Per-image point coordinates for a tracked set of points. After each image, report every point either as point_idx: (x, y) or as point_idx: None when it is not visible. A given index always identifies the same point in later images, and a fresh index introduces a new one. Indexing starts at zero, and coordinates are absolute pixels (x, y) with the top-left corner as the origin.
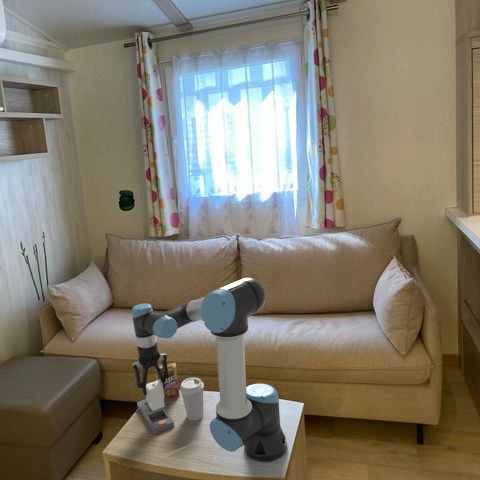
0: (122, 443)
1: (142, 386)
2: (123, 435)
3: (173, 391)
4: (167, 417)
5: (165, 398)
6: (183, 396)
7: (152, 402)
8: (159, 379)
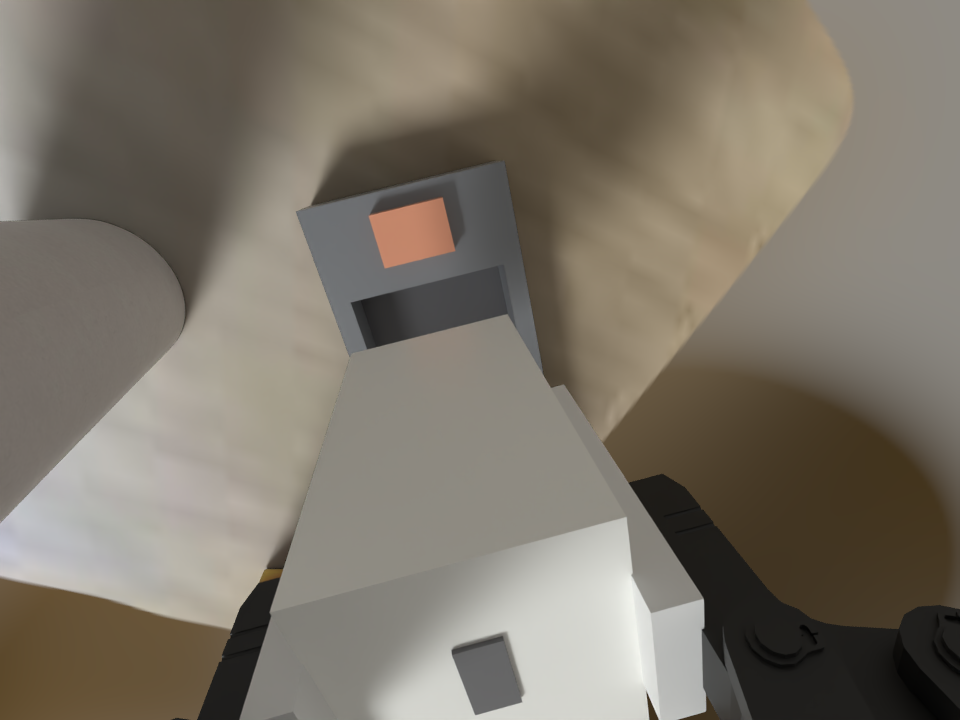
0: (755, 160)
1: (832, 659)
2: (722, 265)
3: None
4: (360, 321)
5: None
6: None
7: (515, 362)
8: None
